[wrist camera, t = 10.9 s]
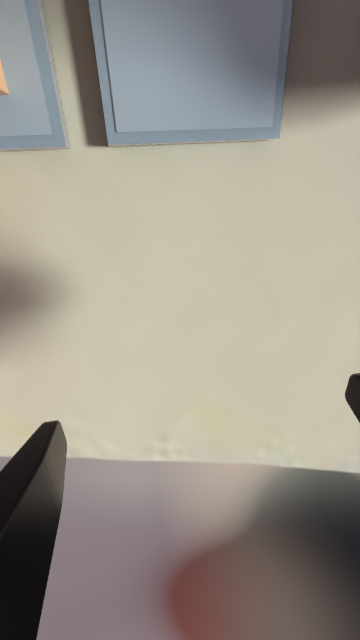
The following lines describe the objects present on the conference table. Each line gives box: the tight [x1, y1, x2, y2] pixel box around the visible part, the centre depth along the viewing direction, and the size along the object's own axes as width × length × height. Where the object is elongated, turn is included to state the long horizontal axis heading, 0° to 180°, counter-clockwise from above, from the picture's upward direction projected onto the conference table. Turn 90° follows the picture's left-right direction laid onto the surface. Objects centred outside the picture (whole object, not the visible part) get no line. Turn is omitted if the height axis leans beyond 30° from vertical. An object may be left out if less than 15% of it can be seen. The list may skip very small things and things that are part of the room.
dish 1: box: [88, 0, 293, 147], centre depth 13 cm, size 9×9×1 cm
